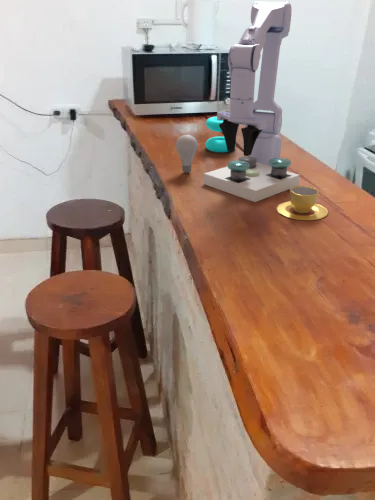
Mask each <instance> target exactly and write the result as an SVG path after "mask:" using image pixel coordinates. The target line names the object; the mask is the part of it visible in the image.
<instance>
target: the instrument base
mask: <svg viewBox="0 0 375 500" xmlns="http://www.w3.org/2000/svg"><path fill="white" fill-rule="evenodd" d="M238 161H245V162H248V163H249V164H250V166H249V169H248V170H246V181H244V182H241V183H236V182H233V181H230V172H231V170H230V169H228V165H227V166H223V167H220V168H218V169H217V168H216V169H215V170H211V171H208V172H203V185H206V186H208V187H211V188H214V189H217V190H219V191H223V192H225V193H229V194H230V195H234V196H236V197H239V198H242V199H245V200H248V201H250V202H252V203H253V202H254V203H257V202H259V201H262V200H264V199H267V198H270V197H273V196H274V195H277V194H279V193H283V192H285V191H288V190H290V189H291V188H292V187H295V186H300V174H297V173H294V172H291V171H288V170H287V174H286V178H284V179H281V180H279V179H276V178H273V177H271V170H272V167H271V166H267V165H264V164H260V163H257V159H256V158H254V157H249V155H248V156H241V157H238Z"/></svg>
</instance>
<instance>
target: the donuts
mask: <svg viewBox="0 0 375 500" xmlns="http://www.w3.org/2000/svg"><path fill="white" fill-rule="evenodd" d="M220 123H223V120H217V115H216V116H212V117H209V118H207V119H206V121H205V125H206V127H207V129H209V130H211V131H213V132H219V133H223V132H222V130H221V128H220V127H219V124H220ZM236 147H237V144H236V145H235V148H236ZM205 148H206V149H207V150H208V151H209V152H213V153H229V152H230V151H227V146H226V141H225V138H224V136H213V137H209V138H208V139H207V140H206V141H205Z"/></svg>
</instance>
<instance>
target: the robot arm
mask: <svg viewBox="0 0 375 500" xmlns="http://www.w3.org/2000/svg"><path fill="white" fill-rule="evenodd" d="M291 21H292V5H291V3H290V2H289V1H286V2H285V1H278V2H277V1H257V0H256V1H254V3H253V4H252V6H251V10H250V23H251V26H249V27H247V28H246V29H245V30H244V32H243V33H242V35H241V37H240V39H239V41H238V43H237V44H234V45H233V46H231V47H230V48H229V50H228V55H227V56H228V57H227V66H228V69H229V71H228V72H229V73H228V77H229V78H230V92H229V93H230V95H229V98H230V99H229V111H224V110H222V111H217V112H216V116H217V120H223V123H220V124H219V127H220V128H221V130H222V132H221V133H222V134H223V137H224V138H225V141H226V146H227V151H229V152H233V151H235V150H236V147H235V145H236V146H237V143H236V142H237V135H238V129H239V127H240V125H243V126H244V127H241V134H242V138H243V157H245V156H248V157H254V158H256V159H257V163H260V164H264V165H267V166H270V165H269V160H270V159H271V158H281V150H282V139H281V137H280V135H279V134H280V132H281V129H282V124H283V110H282V109H283V108H282V107H281V106H280V105H279V104H278V103H277V102H276V101H275V100H274V99H275V93H276V85H277V75H278V69H279V67H278V66H279V59H280V51H281V45H282V41H283V39H285V38H286V37H288V36H289V33H290V28H291V23H292V22H291ZM261 52H262V54H261ZM260 60H261V64H260ZM259 65H260V72H259V73H260V74H259V79H258V80H259V82H258V89H257V98H256V100H255V99H254V98H255V84H256V71H257V70H258V69H259ZM258 110H259V111H258ZM268 111H271V112H268ZM271 167H272V166H271Z"/></svg>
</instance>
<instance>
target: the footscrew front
mask: <svg viewBox="0 0 375 500" xmlns="http://www.w3.org/2000/svg"><path fill="white" fill-rule="evenodd" d="M227 166H228V169H230V170H231V172H230V181H233V182H236V183H241V182H244V181H246V170H248V169H249V166H250V164H249V163H248V162H245V161H239V160H231V161H229V162H227Z"/></svg>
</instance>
